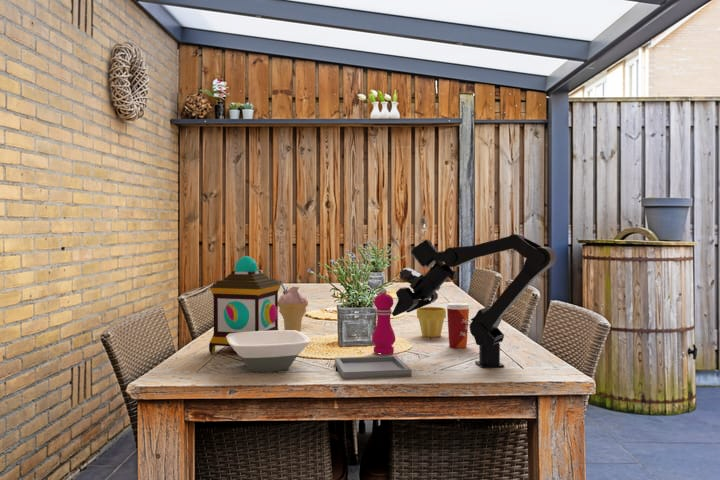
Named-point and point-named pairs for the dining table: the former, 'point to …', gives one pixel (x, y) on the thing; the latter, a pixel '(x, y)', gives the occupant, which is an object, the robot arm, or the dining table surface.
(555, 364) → the dining table surface
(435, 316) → the plant pot
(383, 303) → the pepper mill
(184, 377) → the dining table surface
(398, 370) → the slate tray
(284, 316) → the ice cream cone
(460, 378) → the dining table surface
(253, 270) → the decorative lantern
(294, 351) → the bowl
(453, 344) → the paper cup
